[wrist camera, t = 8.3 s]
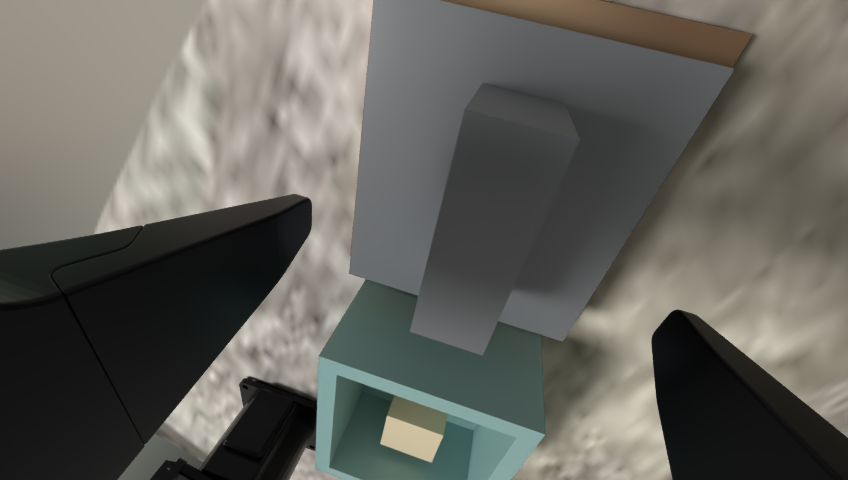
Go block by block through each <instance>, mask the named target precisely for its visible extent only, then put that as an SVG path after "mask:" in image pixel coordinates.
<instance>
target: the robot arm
mask: <svg viewBox="0 0 848 480" xmlns="http://www.w3.org/2000/svg"><path fill="white" fill-rule="evenodd" d="M311 226H312V203H311V200H310V199H309V198H307V197H304V196H300V195H297V194H292V195H287V196H282V197H278V198H273V199H268V200H263V201H258V202H253V203H248V204H243V205H239V206H234V207H229V208H224V209H219V210H214V211H209V212H204V213H200V214H195V215H190V216H185V217H180V218H175V219H170V220H165V221H160V222H156V223H151V224H146V225H145V226H144V227H143V226H136V227H131V228H126V229H121V230H116V231H111V232H105V233H100V234H95V235H90V236H84V237H78V238H72V239H66V240H60V241H54V242H48V243H41V244H35V245H29V246H23V247H17V248H10V249H3V250H0V480H117V479H118V478H119V477H120V476H121V475H122V473H123V472H124V471H125V469H126V468H127V467H128V466H129V465H130V464H131V462H132V461H133V460H134V459H135V457H136V456H137V455H138V454H139V452H140V451H141V450H142V449H143V448H144V444H146V443H147V442H148V441H149V440H150V439H151V437H152V436H153V435H154V434H155V432H156V431H157V430H158V429H159V428H160V426H161V425H162V424H163V423H164V421H165V420H166V419H167V418H168V416H169V415H170V414H171V413H172V412H173V410H174V409H175V408H176V407H177V405H178V404H179V403H180V402H181V401H182V399H183V398H184V397H185V396H186V394H187V393H188V392H189V391H190V390H191V388H192V387H193V386H194V385H195V383H196V382H197V381H198V380H199V379H200V377H201V376H202V375H203V374H204V372H205V371H206V370H207V369H208V367H209V366H210V365H211V364H212V363H213V361H214V360H215V359H216V358H217V356H218V355H219V354H220V353H221V352H222V350H223V349H224V348H225V347H226V345H227V344H228V343H229V342H230V341H231V339H232V338H233V337H234V336H235V334H236V333H237V332H238V331H239V329H240V328H241V327H242V326H243V325H244V323H245V322H246V321H247V320H248V318H249V317H250V316H251V315H252V314H253V312H254V311H255V310H256V309H257V307H258V306H259V305H260V304H261V303H262V301H263V300H264V299H265V298H266V296H267V295H268V294H269V293H270V291H271V290H272V289H273V288H274V287H275V285H276V284H277V283H278V281H279V280H280V279H281V277H282V276H283V275H284V273H285V272H286V270H287V268H288V267H289V265H290V264H291V262H292V261H293V259H294V257H295V256H296V254H297V253H298V251H299V250H300V248H301V246H302V245H303V243H304V242H305V240H306V239H307V237H308V235H309V233H310V231H311ZM652 354H653V366H654V377H655V389H656V398H657V405H658V410H659V416H660V421H661V425H662V430H663V435H664V440H665V445H666V450H667V455H668V459H669V464H670V469H671V474H672V479H673V480H848V438H847V437H846V436H845V435H844V434H842V433H841V432H840V431H839V430H837V429H836V428H835V427H834V426H833V425H831V424H830V423H829V422H828V421H826V420H825V419H824V418H823V417H821V416H820V415H819V414H818V413H817V412H815V411H814V410H813V409H812V408H810V407H809V406H808V405H807V404H805V403H804V402H803V401H802V400H801V399H799V398H798V397H797V396H796V395H794V394H793V393H792V392H791V391H789V390H788V389H787V388H786V387H785V386H783V385H782V384H781V383H780V382H778V381H777V380H776V379H775V378H773V377H772V376H771V375H770V374H769V373H767V372H766V371H765V370H764V369H762V368H761V367H760V366H759V365H757V364H756V363H755V362H754V361H753V360H751V359H750V358H749V357H748V356H746V355H745V354H744V353H743V352H741V351H740V350H739V349H738V348H737V347H735V346H734V345H733V344H732V343H730V342H729V341H728V340H727V339H725V338H724V337H723V336H722V335H720V334H719V333H718V332H717V331H716V330H714V329H713V328H712V327H711V326H709V325H708V324H707V323H706V322H704V321H703V320H702V319H701V318H700V317H698V316H697V315H695V314H692V313H689V312H685V311H682V310H674V311H672V312H671V313H670V314H669V315H668V316H667V317H666V319H665V320H664V321H663V322H662V323H661V325H660V326H659V327H658V328H657V329H656V331H655V332H654V334H653V336H652ZM239 386H240V391H241V397H242V402H243V408H242V410H241V411H240V413H239V414H238V415H237V417H236V418H235V419H234V421H233V422H232V424H231V425H230V426H229V428H228V429H227V430H226V432H225V433H224V435H223V436H222V437H221V439H220V440H219V441H218V443H217V444H216V445H215V447H214V448H213V450H212V451H211V452H210V454H209V455H208V456H207V458H206V459H205V461H204V462H203V463H202V465H201V466H200V468H199V469H196V468H194V467H193V466H191V465H189V464H187V461H185V460H184V459H182V458H179V459H178V460H177V462H173V461H168V460H166V461H165V462H164V463H163V465H162V466H161V467H160V468H159V469H158V471H157V472H156V473H155V474H154V475H153V477H152V478H151V479H150V480H289V479H290V477H291V475H292V473H293V471H294V469H295V467H296V465H297V464H298V462H299V460H300V458H301V456H302V454H303V452H304V450H305V448H308V449H311V450H314V451H316V426H317V404H316V403H314V402H311V401H308V400H305V399H303V398H300V397H297V396H294V395H292V394H289V393H286V392H283V391H281V390H278V389H275V388H272V387H269V386H267V385H264V384H261V383H258V382H256V381H253V380H250V379H247V378H244V379H243V380H242V381H241V382H240V384H239Z"/></svg>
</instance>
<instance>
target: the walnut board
mask: <svg viewBox="0 0 848 480" xmlns="http://www.w3.org/2000/svg"><path fill="white" fill-rule="evenodd" d="M442 1H446V2H450V3H455V4H459V5H463V6H468V7H472V8H476V9H480V10H485V11H489V12H493V13H498V14H502V15H506V16H511V17H515V18H519V19H524V20H528V21H532V22H536V23H541V24H545V25H549V26H554V27H558V28H562V29H567V30H571V31H575V32H580V33H584V34H588V35H592V36H597V37H601V38H605V39H610V40H614V41H618V42H623V43H627V44H631V45H636V46H640V47H644V48H649V49H653V50H657V51H661V52H666V53H670V54H674V55H679V56H683V57H687V58H692V59H696V60H700V61H705V62H709V63H713V64H717V65H722V66H726V67H730V68H732V66H733V65H734V63H735V62H736V60H737V58H738V57H739V55H740V54H741V52H742V50H743V49H744V47H745V46H746V44H747V43H748V41H749V39H750V38H751V36H752V35H753V34H749V33H744V32H740V31H736V30H731V29H727V28H722V27H718V26H713V25H709V24H704V23H700V22H695V21H691V20H686V19H682V18H677V17H673V16H668V15H664V14H660V13H655V12H651V11H646V10H642V9H637V8H633V7H628V6H624V5H619V4H615V3H610V2H606V1H601V0H442ZM373 2H374V0H373ZM372 13H373V11H372ZM371 24H372V22H371ZM370 35H371V33H370ZM369 46H370V44H369ZM368 58H369V55H368ZM367 69H368V66H367ZM366 80H367V77H366ZM365 91H366V88H365ZM364 102H365V99H364ZM363 114H364V111H363ZM362 125H363V122H362ZM361 136H362V133H361ZM360 147H361V144H360ZM359 158H360V155H359ZM358 169H359V166H358ZM357 181H358V177H357ZM356 192H357V188H356ZM355 203H356V199H355ZM354 214H355V210H354ZM353 225H354V221H353ZM352 237H353V232H352ZM351 248H352V243H351ZM350 256H351V254H350Z"/></svg>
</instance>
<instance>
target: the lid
mask: <svg viewBox="0 0 848 480" xmlns="http://www.w3.org/2000/svg"><path fill="white" fill-rule="evenodd" d="M733 71H734V69H733V68H730V67H726V66H722V65H717V64H713V63H709V62H705V61H700V60H696V59H692V58H687V57H683V56H679V55H674V54H670V53H666V52H661V51H657V50H653V49H649V48H644V47H640V46H636V45H631V44H627V43H623V42H618V41H614V40H610V39H605V38H601V37H597V36H592V35H588V34H584V33H580V32H575V31H571V30H567V29H562V28H558V27H554V26H549V25H545V24H541V23H536V22H532V21H528V20H524V19H519V18H515V17H511V16H506V15H502V14H498V13H493V12H489V11H485V10H480V9H476V8H472V7H468V6H463V5H459V4H455V3H450V2H446V1H442V0H374V2H373V13H372V24H371V35H370V46H369V58H368V69H367V80H366V91H365V102H364V114H363V125H362V136H361V147H360V158H359V169H358V181H357V192H356V203H355V214H354V225H353V237H352V248H351V259H350V270H349V274H352V275H355V276H358V277H361V278H364V279H367V280H371V281H374V282H377V283H380V284H383V285H386V286H389V287H393V288H396V289H399V290H402V291H405V292H408V293H411V294H414V295H418V300H417V304H416V308H415V312H414V316H413V320H412V324H411V328H410V332H412V333H415V334H418V335H421V336H424V337H427V338H430V339H433V340H436V341H439V342H443V343H446V344H449V345H452V346H455V347H458V348H461V349H464V350H467V351H470V352H473V353H476V354H479V355H482V356H483V354H484V352H485V349H486V347H487V345H488V343H489V341H490V338H491V336H492V334H493V332H494V329H495V327H496V325H497V323H498V321H499V322H502V323H505V324H509V325H512V326H515V327H518V328H521V329H524V330H527V331H530V332H534V333H537V334H540V335H543V336H546V337H549V338H552V339H556V340H559V341H562V342H563V340H564V339H565V337H566V336H567V334H568V332H569V331H570V329H571V328H572V326H573V325H574V323H575V321H576V320H577V318H578V317H579V315H580V313H581V312H582V310H583V309H584V307H585V306H586V304H587V302H588V301H589V299H590V298H591V296H592V294H593V293H594V291H595V290H596V288H597V286H598V285H599V283H600V282H601V280H602V279H603V277H604V275H605V274H606V272H607V271H608V269H609V267H610V266H611V264H612V263H613V261H614V260H615V258H616V256H617V255H618V253H619V252H620V250H621V248H622V247H623V245H624V244H625V242H626V241H627V239H628V237H629V236H630V234H631V233H632V231H633V229H634V228H635V226H636V225H637V223H638V221H639V220H640V218H641V217H642V215H643V214H644V212H645V210H646V209H647V207H648V206H649V204H650V202H651V201H652V199H653V198H654V196H655V195H656V193H657V191H658V190H659V188H660V187H661V185H662V183H663V182H664V180H665V179H666V177H667V175H668V174H669V172H670V171H671V169H672V168H673V166H674V164H675V163H676V161H677V160H678V158H679V156H680V155H681V153H682V152H683V150H684V149H685V147H686V145H687V144H688V142H689V141H690V139H691V137H692V136H693V134H694V133H695V131H696V129H697V128H698V126H699V125H700V123H701V122H702V120H703V118H704V117H705V115H706V114H707V112H708V110H709V109H710V107H711V106H712V104H713V103H714V101H715V99H716V98H717V96H718V95H719V93H720V91H721V90H722V88H723V87H724V85H725V83H726V82H727V80H728V79H729V77H730V76H731V74H732V72H733Z"/></svg>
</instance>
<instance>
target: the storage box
mask: <svg viewBox="0 0 848 480" xmlns="http://www.w3.org/2000/svg"><path fill="white" fill-rule="evenodd" d="M417 300H418V295H414V294H411V293H408V292H405V291H402V290H399V289H396V288H393V287H389V286H386V285H383V284H380V283H377V282H374V281H371V280H367V279H366V280H365V282H364V283H363V285H362V287H361V288H360V290H359V291H358V293H357V295H356V296H355V298H354V300H353V301H352V303H351V304H350V306H349V308H348V309H347V311H346V313H345V314H344V316H343V317H342V319H341V321H340V322H339V324H338V326H337V327H336V329H335V330H334V332H333V334H332V335H331V337H330V339H329V340H328V342H327V343H326V345H325V347H324V348H323V350H322V352H321V353H320V355H319V365H318V395H317V426H316V456H315V469H317V470H319V471H322V472H325V473H327V474H330V475H333V476H335V477H338V478H340V479H343V480H511V479H512V478H513V476H514V475H515V474H516V472H517V471H518V470H519V468H520V467H521V466H522V464H523V463H524V462H525V461H526V459H527V458H528V457H529V455H530V454H531V453H532V451H533V450H534V449H535V448H536V446H537V445H538V444H539V442H540V441H541V440H542V438H543V437H544V436H545V415H544V391H543V367H542V343H541V335H540V334H537V333H534V332H530V331H527V330H524V329H521V328H518V327H515V326H512V325H509V324H505V323H502V322H499V321H498V323H497V325H496V327H495V329H494V332H493V334H492V336H491V338H490V341H489V343H488V345H487V347H486V349H485V352H484V354H483V356H482V355H479V354H476V353H473V352H470V351H467V350H464V349H461V348H458V347H455V346H452V345H449V344H446V343H443V342H439V341H436V340H433V339H430V338H427V337H424V336H421V335H418V334H415V333H412V332H410V328H411V324H412V320H413V316H414V312H415V308H416V304H417Z"/></svg>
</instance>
